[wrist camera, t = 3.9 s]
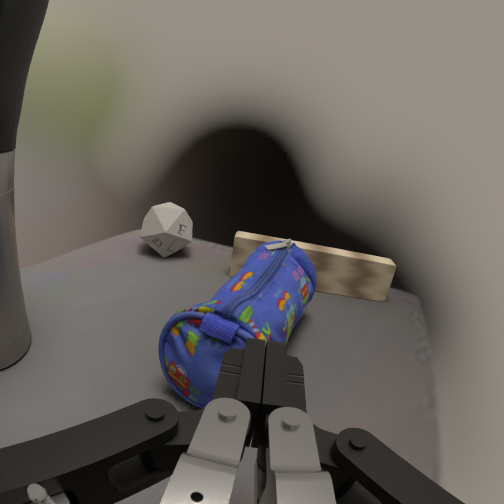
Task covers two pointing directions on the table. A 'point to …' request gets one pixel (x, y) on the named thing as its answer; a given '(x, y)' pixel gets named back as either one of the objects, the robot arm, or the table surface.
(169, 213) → the die
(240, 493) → the table surface
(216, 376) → the pencil case
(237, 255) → the birch board
